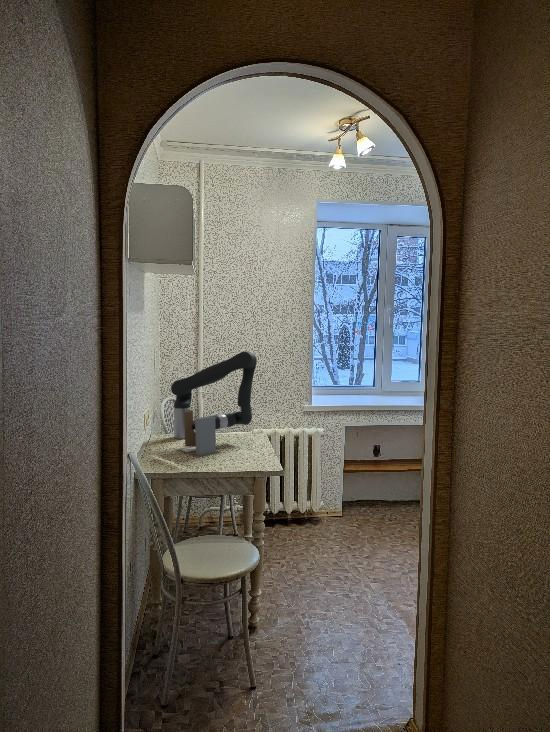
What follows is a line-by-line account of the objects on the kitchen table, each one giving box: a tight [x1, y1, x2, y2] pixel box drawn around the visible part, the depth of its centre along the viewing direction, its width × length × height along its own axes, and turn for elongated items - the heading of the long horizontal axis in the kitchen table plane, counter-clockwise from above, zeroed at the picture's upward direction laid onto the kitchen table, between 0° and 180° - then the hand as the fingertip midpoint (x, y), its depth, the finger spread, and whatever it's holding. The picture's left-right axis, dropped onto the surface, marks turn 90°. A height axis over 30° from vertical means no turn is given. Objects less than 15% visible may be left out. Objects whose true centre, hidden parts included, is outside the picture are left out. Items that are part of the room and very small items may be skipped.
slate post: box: [194, 415, 217, 456], centre depth 284 cm, size 4×9×18 cm, turn 129°
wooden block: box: [184, 409, 196, 448], centre depth 292 cm, size 9×4×18 cm, turn 100°
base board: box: [175, 446, 222, 458], centre depth 290 cm, size 22×14×1 cm, turn 39°
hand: (189, 426), depth 291 cm, fingers closed on wooden block, 5 cm apart
